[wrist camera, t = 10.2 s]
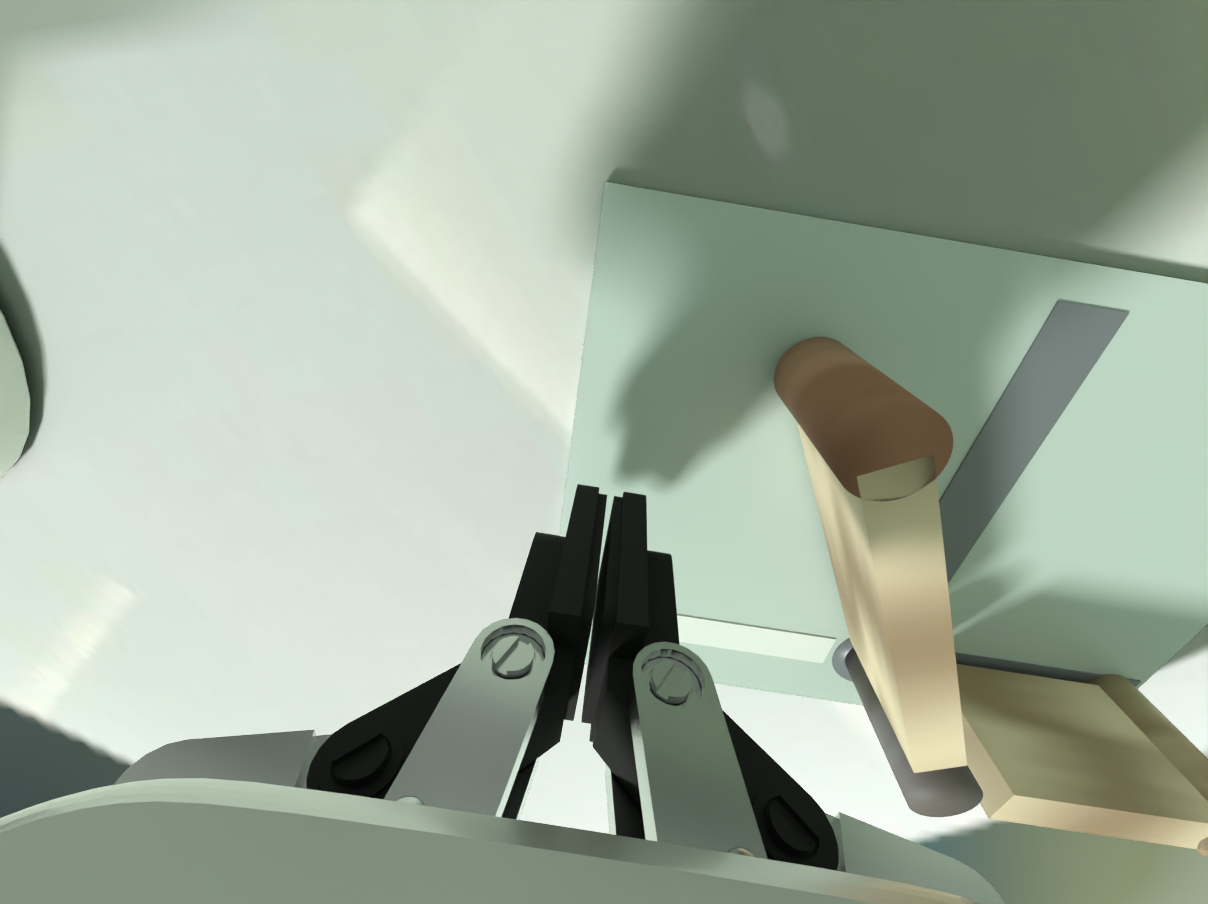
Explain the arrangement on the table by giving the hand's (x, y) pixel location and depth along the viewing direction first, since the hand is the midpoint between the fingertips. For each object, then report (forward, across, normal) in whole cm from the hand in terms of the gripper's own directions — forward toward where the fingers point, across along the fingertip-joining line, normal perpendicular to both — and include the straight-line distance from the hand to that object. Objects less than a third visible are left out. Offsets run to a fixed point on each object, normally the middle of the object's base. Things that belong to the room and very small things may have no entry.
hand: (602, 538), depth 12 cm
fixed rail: (+3, -14, +5) cm, 15 cm away
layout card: (+3, -9, 0) cm, 9 cm away
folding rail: (+2, -6, -1) cm, 7 cm away
